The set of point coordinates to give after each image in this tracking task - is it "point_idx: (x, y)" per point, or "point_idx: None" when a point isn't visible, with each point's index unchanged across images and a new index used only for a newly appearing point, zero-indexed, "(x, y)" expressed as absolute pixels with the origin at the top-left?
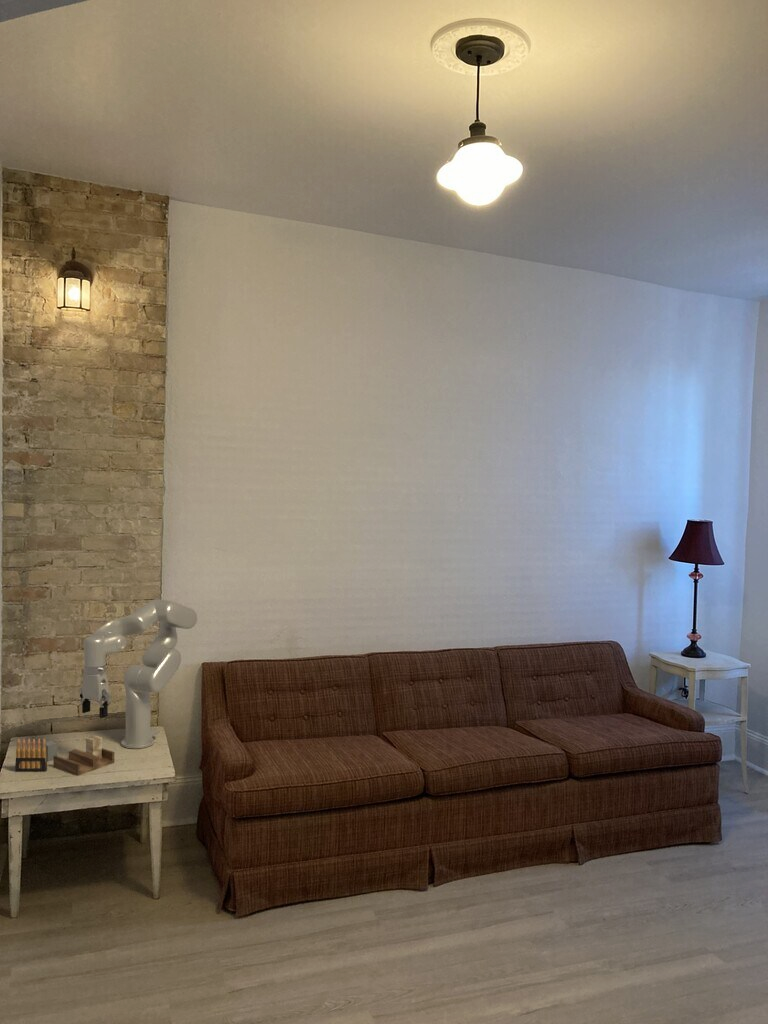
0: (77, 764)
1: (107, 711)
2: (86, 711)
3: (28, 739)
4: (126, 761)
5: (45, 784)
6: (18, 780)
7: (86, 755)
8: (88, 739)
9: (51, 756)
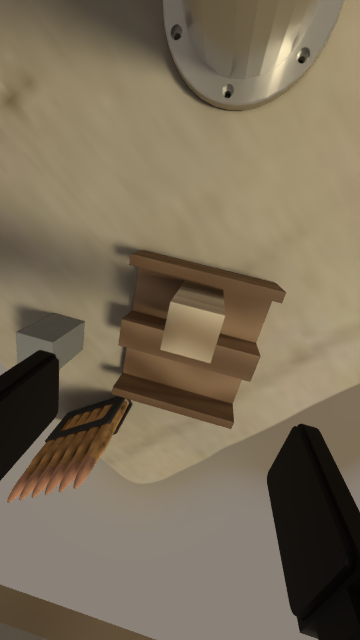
0: (227, 427)
1: (340, 473)
2: (53, 395)
3: (36, 495)
4: (315, 254)
5: (190, 461)
6: (120, 456)
7: None
8: (178, 353)
9: (76, 344)
